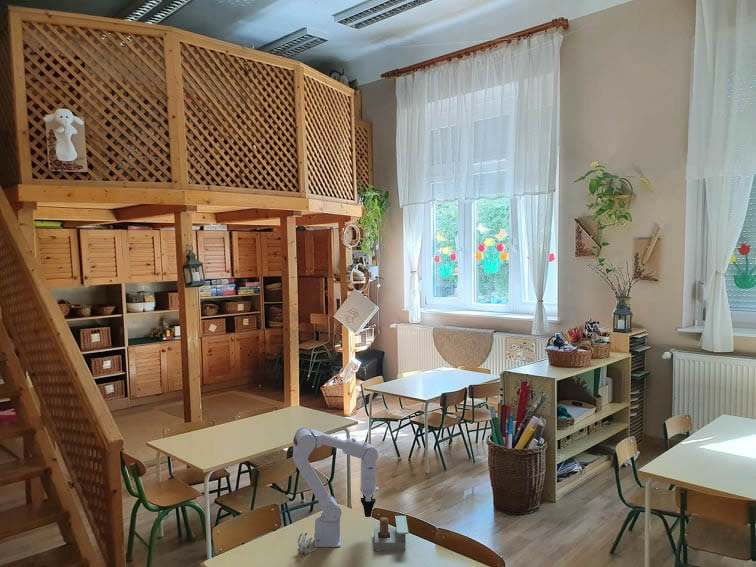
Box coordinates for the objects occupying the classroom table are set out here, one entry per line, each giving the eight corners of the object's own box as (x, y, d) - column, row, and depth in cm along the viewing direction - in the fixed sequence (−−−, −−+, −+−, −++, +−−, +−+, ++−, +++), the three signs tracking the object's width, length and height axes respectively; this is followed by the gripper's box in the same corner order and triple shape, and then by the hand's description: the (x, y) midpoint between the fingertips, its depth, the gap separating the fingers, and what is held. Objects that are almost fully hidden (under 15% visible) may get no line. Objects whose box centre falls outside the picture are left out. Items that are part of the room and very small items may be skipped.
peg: (379, 545, 202) (380, 521, 202) (379, 540, 205) (379, 517, 205) (388, 545, 202) (388, 521, 202) (387, 540, 205) (388, 517, 205)
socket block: (374, 552, 197) (375, 532, 197) (374, 534, 210) (374, 515, 210) (408, 552, 197) (408, 532, 197) (405, 534, 210) (405, 515, 210)
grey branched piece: (317, 544, 204) (317, 550, 193) (308, 554, 203) (306, 561, 192) (303, 528, 205) (302, 533, 194) (293, 538, 204) (291, 544, 193)
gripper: (379, 484, 200) (379, 520, 201) (378, 469, 215) (377, 503, 215) (360, 484, 200) (359, 520, 201) (360, 469, 215) (360, 503, 215)
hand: (367, 511), depth 208 cm, fingers open, 7 cm apart
